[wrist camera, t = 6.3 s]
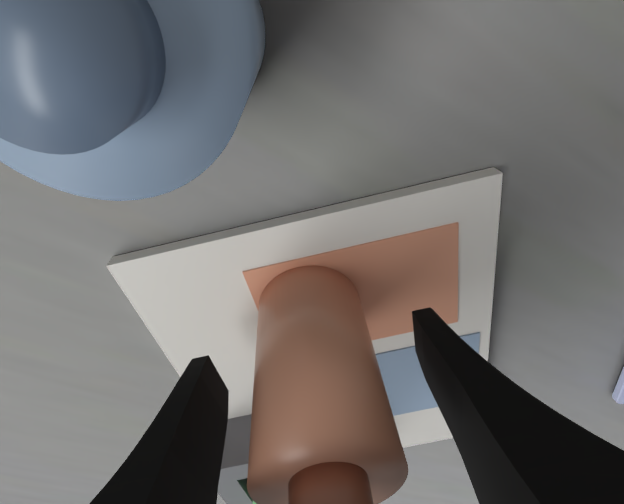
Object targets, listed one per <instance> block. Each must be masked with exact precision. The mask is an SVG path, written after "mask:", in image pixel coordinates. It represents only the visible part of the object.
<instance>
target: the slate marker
mask: <svg viewBox="0 0 624 504" xmlns="http://www.w3.org/2000/svg"><path fill="white" fill-rule="evenodd" d="M265 40H266V33H265V22H264V17H263V12H262V8H261V5H260V2H259V0H0V161H1V162H2V163H4V164H6V165H7V166H9V167H11V168H12V169H14V170H16V171H17V172H19V173H21V174H23V175H25V176H27V177H29V178H31V179H33V180H35V181H37V182H39V183H42V184H44V185H47V186H50V187H52V188H55V189H57V190H60V191H64V192H67V193H71V194H74V195H78V196H82V197H88V198H94V199H100V200H115V201H122V200H138V199H144V198H150V197H155V196H158V195H161V194H164V193H168V192H171V191H173V190H175V189H177V188H179V187H181V186H183V185H185V184H187V183H188V182H190V181H191V180H193V179H194V178H196V177H197V176H199V175H200V174H201V173H203V172H204V171H205V170H206V169H207V168H208V167H209V166H210V165H211V164H212V163H213V162H214V161H215V160H216V159H217V157H218V156H219V155H220V154H221V153H222V151H223V150H224V148H225V147H226V145H227V144H228V142H229V140H230V139H231V137H232V135H233V133H234V131H235V129H236V126H237V124H238V121H239V119H240V117H241V114H242V112H243V109H244V107H245V104H246V102H247V99H248V97H249V94H250V92H251V89H252V87H253V85H254V82H255V80H256V77H257V75H258V72H259V70H260V67H261V64H262V61H263V57H264V51H265Z"/></svg>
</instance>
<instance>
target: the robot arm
mask: <svg viewBox="0 0 624 504" xmlns="http://www.w3.org/2000/svg"><path fill="white" fill-rule="evenodd" d="M412 319H413V330H414V341H415V352H416V354H417V357H418V360H419V363H420V366H421V369H422V372H423V374H424V377H425V380H426V382H427V384H428V386H429V388H430V390H431V392H432V394H433V397H434V399H435V401H436V403H437V405H438V407H439V409H440V411H441V413H442V415H443V417H444V419H445V422H446V424H447V426H448V428H449V430H450V432H451V434H452V436H453V438H454V440H455V442H456V445H457V447H458V449H459V451H460V454H461V456H462V459H463V461H464V464H465V467H466V469H467V472H468V475H469V477H470V480H471V482H472V485H473V488H474V490H475V493H476V496H477V499H478V501H479V504H624V451H623V450H621V449H620V448H618V447H616V446H614V445H612V444H611V443H609V442H607V441H605V440H603V439H602V438H600V437H598V436H596V435H594V434H593V433H591V432H589V431H588V430H586V429H584V428H583V427H581V426H579V425H578V424H576V423H574V422H573V421H571V420H569V419H568V418H566V417H564V416H563V415H561V414H560V413H558V412H556V411H555V410H553V409H552V408H550V407H549V406H547V405H546V404H544V403H543V402H541V401H540V400H538V399H537V398H535V397H534V396H532V395H531V394H529V393H528V392H527V391H525V390H524V389H522V388H521V387H520V386H518V385H517V384H515V383H514V382H513V381H511V380H510V379H509V378H508V377H506V376H505V375H504V374H502V373H501V372H500V371H499V370H497V369H496V368H495V367H494V366H492V365H491V364H490V363H489V362H488V361H486V360H485V359H484V358H483V357H482V356H480V355H479V354H478V353H477V352H476V351H475V350H474V349H473V348H472V347H470V346H469V345H468V344H467V343H466V342H465V341H464V340H463V339H462V338H461V337H460V336H458V335H457V334H456V333H455V332H454V331H453V330H452V329H451V328H450V327H449V326H448V325H447V324H446V323H445V322H444V321H443V320H442V319H441V317H440V316H439V315H438V314H437V313H436V312H435V311H434V310H433V309H432V308H430V307H429V308H424V309H419V310H415V311H412ZM612 398H613V399H614V400H615V401H616V402H617V403H619V404H624V367H623V369H622V372H621V374H620V377H619V379H618V382H617V384H616V387H615V389H614V392H613V394H612ZM228 399H229V390H228V389H227V387H226V385H225V383H224V382H223V380H222V378H221V376H220V375H219V373H218V371H217V369H216V368H215V366H214V364H213V362H212V361H211V359H210V357H209V355H207V356H203V357H198V358H194V359H192V360H191V361H190V363H189V364H188V366H187V367H186V369H185V371H184V372H183V374H182V376H181V377H180V379H179V381H178V382H177V384H176V386H175V387H174V389H173V390H172V392H171V394H170V395H169V397H168V399H167V400H166V402H165V403H164V405H163V406H162V408H161V410H160V411H159V413H158V414H157V416H156V418H155V419H154V421H153V422H152V424H151V425H150V427H149V428H148V429H147V431H146V432H145V434H144V435H143V437H142V438H141V440H140V441H139V442H138V444H137V445H136V447H135V448H134V450H133V451H132V452H131V454H130V455H129V456H128V458H127V459H126V460H125V462H124V463H123V464H122V466H121V467H120V468H119V469H118V471H117V472H116V473H115V474H114V476H113V477H112V478H111V479H110V481H109V482H108V483H107V484H106V485H105V487H104V488H103V489H102V490H101V491H100V492H99V493H98V495H97V496H96V497H95V498H94V499H93V500H92V501H91V503H90V504H216V501H217V492H218V484H219V478H220V471H221V464H222V458H223V451H224V444H225V437H226V430H227V423H228Z"/></svg>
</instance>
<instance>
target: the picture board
mask: <svg viewBox="0 0 624 504" xmlns="http://www.w3.org/2000/svg"><path fill="white" fill-rule="evenodd" d="M502 177H503V173H502V172H500V171H499V170H497V169H496V168H495V167H492V168H487V169H483V170H479V171H475V172H470V173H466V174H462V175H458V176H453V177H449V178H445V179H441V180H436V181H432V182H428V183H424V184H419V185H415V186H411V187H407V188H402V189H398V190H394V191H390V192H385V193H381V194H377V195H373V196H368V197H364V198H360V199H356V200H351V201H347V202H343V203H339V204H334V205H330V206H326V207H322V208H317V209H313V210H309V211H305V212H300V213H296V214H292V215H288V216H283V217H279V218H275V219H271V220H266V221H262V222H258V223H254V224H249V225H245V226H241V227H237V228H232V229H228V230H224V231H220V232H215V233H211V234H207V235H203V236H198V237H194V238H190V239H186V240H181V241H177V242H173V243H169V244H164V245H160V246H156V247H152V248H147V249H143V250H139V251H135V252H130V253H126V254H122V255H118V256H114V257H112V258H111V260H110V261H109V263H108V264H107V266H106V267H107V268H108V270H109V271H110V273H111V274H112V276H113V277H114V279H115V280H116V281H117V283H118V284H119V286H120V287H121V289H122V290H123V292H124V293H125V295H126V296H127V298H128V299H129V301H130V302H131V304H132V305H133V307H134V308H135V310H136V311H137V313H138V314H139V316H140V317H141V319H142V320H143V322H144V323H145V325H146V326H147V328H148V329H149V331H150V332H151V334H152V335H153V337H154V338H155V340H156V341H157V343H158V344H159V346H160V347H161V349H162V350H163V352H164V353H165V355H166V356H167V358H168V359H169V361H170V362H171V364H172V365H173V367H174V368H175V370H176V371H177V373H178V374H179V376H180V377H181V376H182V374H183V372H184V371H185V369H186V367H187V366H188V364H189V363H190V361H191V360H192V359H194V358H198V357H203V356H207V355H209V357H210V359H211V361H212V362H213V364H214V366H215V368H216V369H217V371H218V373H219V375H220V376H221V378H222V380H223V382H224V383H225V385H226V387H227V389H228V390H229V399H228V423H227V430H226V437H225V444H224V451H223V458H222V464H221V471H220V478H219V484H218V493H219V495H220V496H221V497H222V498H223V500H224V501H225V502H226V503H227V504H253V500H252V498H251V497H250V496H249V493H248V491H247V475H248V460H249V445H250V430H251V415H252V400H253V385H254V370H255V355H256V340H257V325H258V310H259V300H260V296H261V294H262V292H263V290H264V288H265V287H266V286H267V284H268V283H269V282H270V281H271V280H272V279H274V278H275V277H276V276H278V275H279V274H281V273H283V272H285V271H287V270H290V269H293V268H297V267H302V266H322V267H327V268H331V269H334V270H336V271H338V272H340V273H342V274H343V275H345V276H346V277H347V278H348V279H349V280H350V281H351V282H352V283H353V284H354V286H355V288H356V290H357V292H358V296H359V299H360V303H361V306H362V310H363V313H364V316H365V320H366V323H367V327H368V330H369V334H370V337H371V341H372V344H373V348H374V351H375V354H376V358H377V361H378V365H379V368H380V372H381V375H382V379H383V382H384V385H385V389H386V392H387V396H388V399H389V403H390V406H391V410H392V413H393V416H394V420H395V423H396V427H397V430H398V434H399V437H400V441H401V444H402V447H403V448H404V447H409V446H414V445H420V444H425V443H430V442H435V441H440V440H445V439H450V438H453V436H452V434H451V432H450V430H449V428H448V426H447V424H446V422H445V419H444V417H443V415H442V413H441V411H440V409H439V407H438V405H437V403H436V401H435V399H434V397H433V394H432V392H431V390H430V388H429V386H428V384H427V382H426V380H425V377H424V374H423V372H422V369H421V366H420V363H419V360H418V357H417V354H416V352H415V341H414V330H413V319H412V311H415V310H419V309H424V308H429V307H430V308H432V309H433V310H434V311H435V312H436V313H437V314H438V315H439V316H440V317H441V319H442V320H443V321H444V322H445V323H446V324H447V325H448V326H449V327H450V328H451V329H452V330H453V331H454V332H455V333H456V334H457V335H458V336H460V337H461V338H462V339H463V340H464V341H465V342H466V343H467V344H468V345H469V346H470V347H472V348H473V349H474V350H475V351H476V352H477V353H478V354H479V355H480V356H482V357H483V358H484V359H485V360H486V361H488V354H489V341H490V329H491V316H492V303H493V291H494V278H495V266H496V253H497V240H498V228H499V215H500V203H501V190H502Z"/></svg>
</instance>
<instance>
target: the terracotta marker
mask: <svg viewBox="0 0 624 504" xmlns="http://www.w3.org/2000/svg"><path fill="white" fill-rule="evenodd" d="M407 475H408V465H407V461H406V458H405V454H404V451H403V447H402V444H401V441H400V437H399V434H398V430H397V427H396V423H395V420H394V416H393V413H392V410H391V406H390V403H389V399H388V396H387V392H386V389H385V385H384V382H383V379H382V375H381V372H380V368H379V365H378V361H377V358H376V354H375V351H374V348H373V344H372V341H371V337H370V334H369V330H368V327H367V323H366V320H365V316H364V313H363V310H362V306H361V303H360V299H359V296H358V292H357V290H356V288H355V286H354V284H353V283H352V282H351V281H350V280H349V279H348V278H347V277H346V276H345V275H343V274H342V273H340V272H338V271H336V270H334V269H331V268H327V267H322V266H302V267H297V268H293V269H290V270H287V271H285V272H283V273H281V274H279V275H278V276H276V277H275V278H274V279H272V280H271V281H270V282H269V283H268V284H267V286H266V287H265V288H264V290H263V292H262V294H261V296H260V300H259V310H258V325H257V340H256V355H255V370H254V385H253V400H252V415H251V430H250V445H249V460H248V475H247V491H248V493H249V496H250V497H251V498H252V500H253V501H254V502H255V503H256V504H378V503H380V502H382V501H384V500H386V499H387V498H389V497H390V496H392V495H393V494H394V493H395V492H396V491H398V490H399V489H400V487H401V486H402V485H403V484H404V482H405V480H406V478H407Z"/></svg>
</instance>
